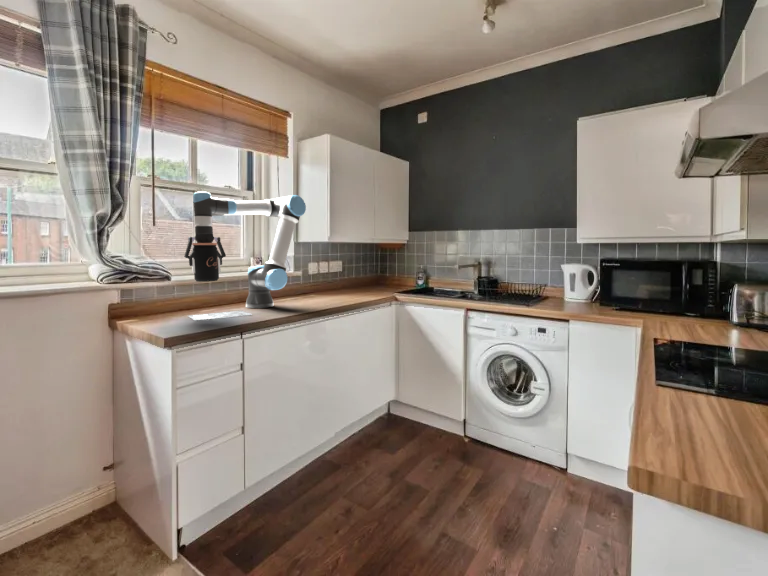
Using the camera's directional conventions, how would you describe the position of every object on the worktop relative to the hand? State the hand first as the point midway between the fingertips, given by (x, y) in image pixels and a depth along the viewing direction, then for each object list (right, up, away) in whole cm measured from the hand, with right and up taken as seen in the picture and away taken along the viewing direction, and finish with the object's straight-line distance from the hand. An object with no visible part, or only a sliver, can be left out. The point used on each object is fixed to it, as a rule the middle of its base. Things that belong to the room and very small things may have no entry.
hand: (206, 272), depth 185 cm
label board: (+4, -21, +5) cm, 22 cm away
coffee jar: (0, -4, 0) cm, 4 cm away
